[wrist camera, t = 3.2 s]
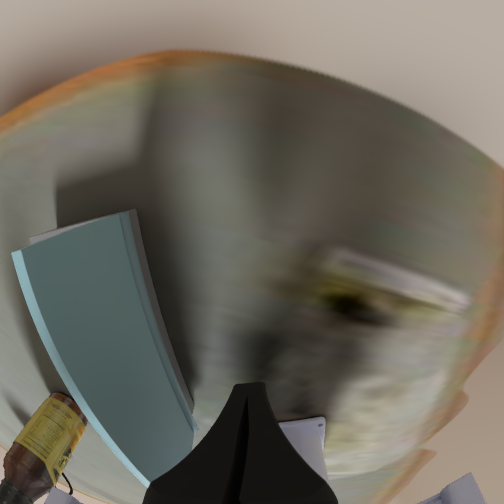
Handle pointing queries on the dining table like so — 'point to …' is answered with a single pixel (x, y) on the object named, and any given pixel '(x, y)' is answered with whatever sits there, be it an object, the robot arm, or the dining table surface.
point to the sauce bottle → (42, 450)
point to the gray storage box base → (149, 288)
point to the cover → (108, 342)
